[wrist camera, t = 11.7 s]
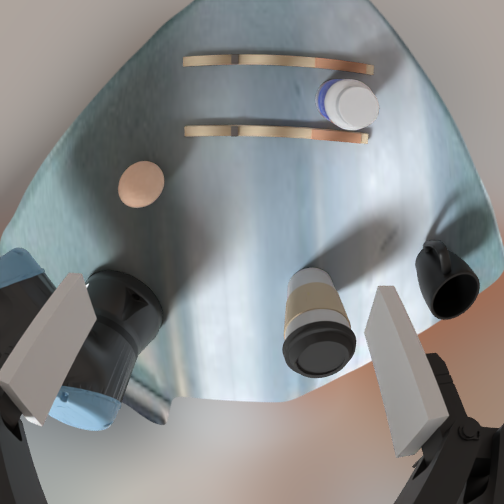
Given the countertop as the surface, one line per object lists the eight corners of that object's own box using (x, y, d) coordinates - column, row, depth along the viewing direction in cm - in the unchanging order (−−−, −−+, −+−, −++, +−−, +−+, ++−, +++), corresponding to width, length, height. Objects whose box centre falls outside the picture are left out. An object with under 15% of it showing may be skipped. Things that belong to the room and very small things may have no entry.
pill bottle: (316, 122, 36) (331, 136, 28) (312, 79, 33) (328, 79, 25) (359, 121, 36) (386, 135, 27) (357, 78, 33) (385, 80, 25)
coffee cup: (350, 273, 47) (375, 347, 34) (320, 316, 51) (333, 391, 38) (296, 252, 45) (307, 327, 32) (270, 298, 50) (270, 376, 37)
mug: (441, 207, 41) (474, 238, 32) (455, 267, 46) (481, 303, 37) (394, 230, 43) (419, 267, 35) (413, 289, 48) (434, 328, 40)
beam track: (186, 135, 38) (184, 137, 36) (185, 57, 33) (182, 56, 31) (365, 142, 37) (368, 144, 36) (371, 65, 32) (374, 65, 31)
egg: (179, 177, 40) (160, 200, 33) (151, 200, 42) (129, 227, 35) (153, 146, 38) (128, 164, 31) (126, 171, 40) (98, 193, 33)
